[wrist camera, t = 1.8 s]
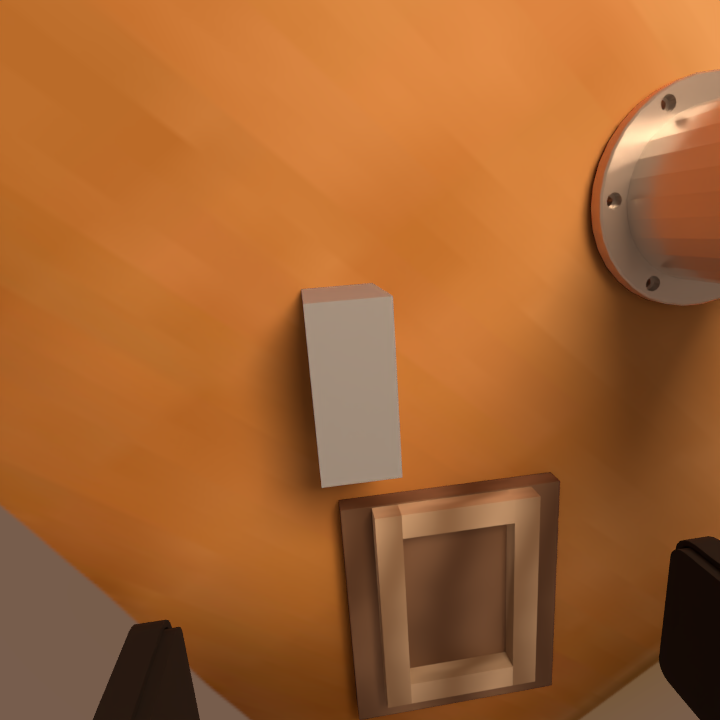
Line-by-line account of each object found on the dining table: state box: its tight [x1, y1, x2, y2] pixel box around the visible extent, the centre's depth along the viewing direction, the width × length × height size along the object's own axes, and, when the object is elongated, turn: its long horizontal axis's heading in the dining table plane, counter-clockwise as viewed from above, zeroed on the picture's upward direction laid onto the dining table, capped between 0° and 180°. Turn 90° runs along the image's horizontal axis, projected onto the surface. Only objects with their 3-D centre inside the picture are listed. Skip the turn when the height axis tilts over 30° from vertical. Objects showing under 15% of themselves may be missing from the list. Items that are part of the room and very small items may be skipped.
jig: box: [339, 472, 560, 720], centre depth 32 cm, size 14×16×2 cm
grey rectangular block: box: [301, 283, 402, 488], centre depth 26 cm, size 4×9×6 cm, turn 4°
